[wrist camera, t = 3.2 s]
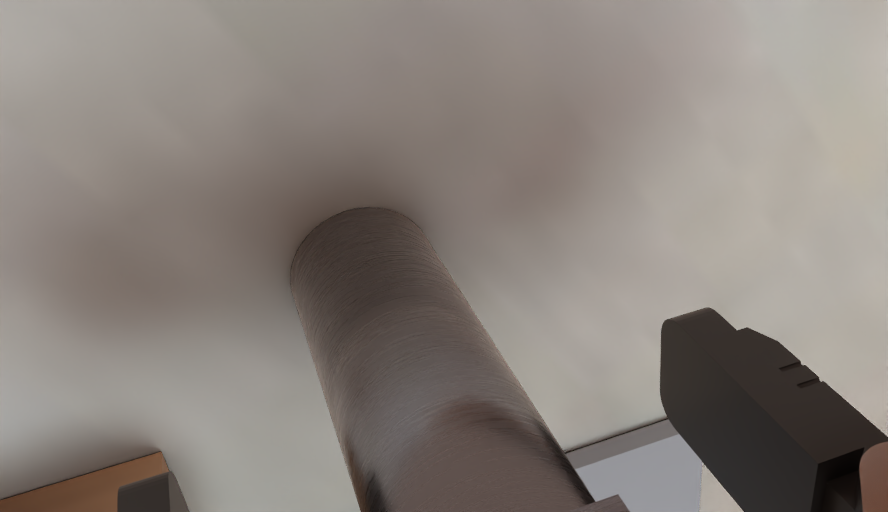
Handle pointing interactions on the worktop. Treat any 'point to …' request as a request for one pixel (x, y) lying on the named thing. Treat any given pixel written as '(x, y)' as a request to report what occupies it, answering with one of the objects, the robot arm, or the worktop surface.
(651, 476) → the mat
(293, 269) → the chuck key
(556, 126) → the worktop surface
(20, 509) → the block
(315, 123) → the worktop surface
